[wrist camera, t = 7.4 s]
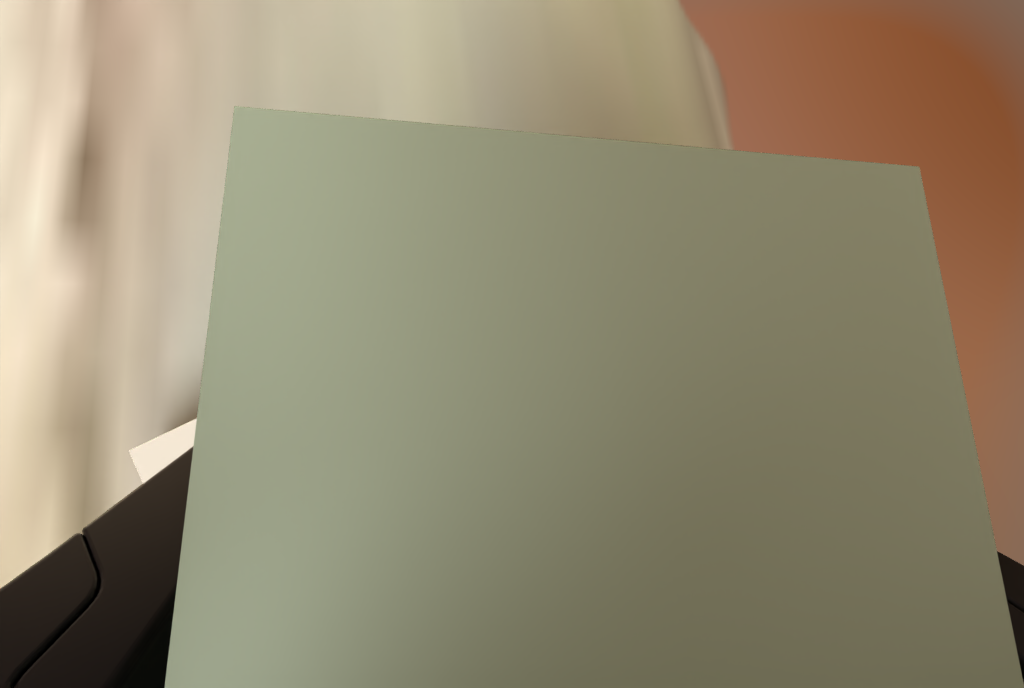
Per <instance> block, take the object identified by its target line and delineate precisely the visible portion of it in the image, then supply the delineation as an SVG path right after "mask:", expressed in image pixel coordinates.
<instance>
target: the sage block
mask: <svg viewBox="0 0 1024 688" xmlns="http://www.w3.org/2000/svg"><path fill="white" fill-rule="evenodd" d="M164 688H1024V683H1023V678H1022V673H1021V668H1020V663H1019V658H1018V653H1017V648H1016V643H1015V638H1014V633H1013V628H1012V623H1011V618H1010V613H1009V608H1008V604H1007V599H1006V594H1005V589H1004V584H1003V579H1002V574H1001V569H1000V564H999V559H998V554H997V550H996V544H995V539H994V534H993V530H992V525H991V519H990V515H989V510H988V505H987V500H986V495H985V490H984V485H983V480H982V475H981V470H980V465H979V460H978V455H977V450H976V445H975V441H974V436H973V430H972V425H971V421H970V416H969V411H968V406H967V401H966V396H965V391H964V386H963V381H962V376H961V371H960V366H959V361H958V356H957V351H956V346H955V342H954V336H953V332H952V327H951V322H950V317H949V312H948V307H947V302H946V297H945V292H944V287H943V282H942V277H941V272H940V267H939V262H938V257H937V252H936V248H935V242H934V237H933V233H932V228H931V223H930V218H929V213H928V208H927V203H926V198H925V193H924V188H923V183H922V178H921V174H920V168H919V167H917V166H905V165H894V164H883V163H872V162H860V161H849V160H837V159H826V158H815V157H804V156H793V155H792V156H791V155H780V154H770V153H758V152H747V151H736V150H725V149H713V148H702V147H691V146H680V145H668V144H657V143H646V142H634V141H623V140H612V139H600V138H589V137H578V136H566V135H555V134H544V133H533V132H521V131H510V130H499V129H487V128H476V127H465V126H453V125H442V124H431V123H419V122H408V121H397V120H386V119H374V118H363V117H352V116H340V115H329V114H318V113H306V112H295V111H284V110H273V109H261V108H250V107H239V106H234V113H233V122H232V130H231V138H230V147H229V155H228V163H227V172H226V180H225V188H224V197H223V205H222V213H221V222H220V230H219V238H218V247H217V255H216V263H215V271H214V280H213V288H212V296H211V305H210V313H209V321H208V330H207V338H206V346H205V355H204V363H203V371H202V380H201V388H200V396H199V405H198V413H197V421H196V430H195V438H194V446H193V454H192V463H191V471H190V479H189V488H188V496H187V504H186V513H185V521H184V529H183V538H182V546H181V554H180V563H179V571H178V579H177V588H176V596H175V604H174V613H173V621H172V629H171V638H170V646H169V654H168V662H167V671H166V679H165V687H164Z"/></svg>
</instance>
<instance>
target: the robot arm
mask: <svg viewBox="0 0 1024 688" xmlns="http://www.w3.org/2000/svg"><path fill="white" fill-rule="evenodd" d="M192 454H193V447H191V448H190V449H189V450H187V451H186V452H185V453H183V454H182V455H181V456H179V457H178V458H177V459H175V460H174V461H173V462H171V463H170V464H169V465H167V466H166V467H165V468H163V469H162V470H161V471H159V472H158V473H157V474H155V475H154V476H153V477H151V478H150V479H149V480H147V481H146V482H145V483H143V484H142V485H141V486H139V487H138V488H137V489H135V490H134V491H133V492H131V493H130V494H129V495H127V496H126V497H125V498H123V499H122V500H121V501H119V502H118V503H117V504H115V505H114V506H113V507H111V508H110V509H109V510H107V511H106V512H105V513H103V514H102V515H101V516H99V517H98V518H97V519H95V520H94V521H93V522H91V523H90V524H89V525H87V526H86V527H85V528H83V530H82V534H83V535H82V534H80V533H77V534H75V535H73V536H72V537H71V538H69V539H68V540H67V541H65V542H64V543H63V544H61V545H60V546H59V547H57V548H56V549H55V550H53V551H52V552H51V553H49V554H48V555H47V556H45V557H44V558H43V559H41V560H40V561H38V562H37V563H36V564H34V565H33V566H31V567H30V568H29V569H27V570H26V571H24V572H23V573H22V574H20V575H19V576H17V577H16V578H15V579H13V580H12V581H10V582H9V583H8V584H6V585H5V586H3V587H2V588H1V589H0V688H164V687H165V679H166V671H167V662H168V654H169V646H170V638H171V629H172V621H173V613H174V604H175V596H176V588H177V579H178V571H179V563H180V554H181V546H182V538H183V529H184V521H185V513H186V504H187V496H188V488H189V479H190V471H191V463H192ZM997 554H998V559H999V564H1000V569H1001V574H1002V579H1003V584H1004V589H1005V594H1006V599H1007V604H1008V608H1009V613H1010V618H1011V623H1012V628H1013V633H1014V638H1015V643H1016V648H1017V653H1018V658H1019V663H1020V668H1021V673H1022V678H1023V683H1024V566H1023V565H1021V564H1020V563H1018V562H1016V561H1014V560H1012V559H1010V558H1009V557H1007V556H1005V555H1003V554H1001V553H999V552H998V551H997Z"/></svg>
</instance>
